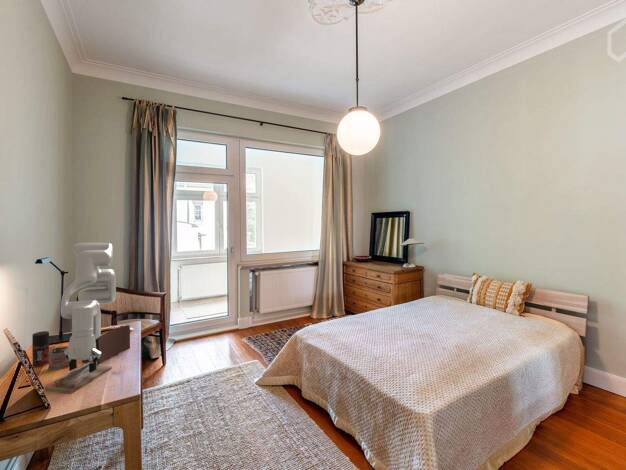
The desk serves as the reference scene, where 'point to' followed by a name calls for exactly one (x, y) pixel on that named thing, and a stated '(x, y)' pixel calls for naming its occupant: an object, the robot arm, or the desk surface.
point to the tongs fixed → (70, 375)
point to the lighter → (58, 358)
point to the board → (68, 386)
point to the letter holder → (112, 343)
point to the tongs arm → (80, 376)
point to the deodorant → (40, 348)
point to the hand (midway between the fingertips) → (82, 370)
